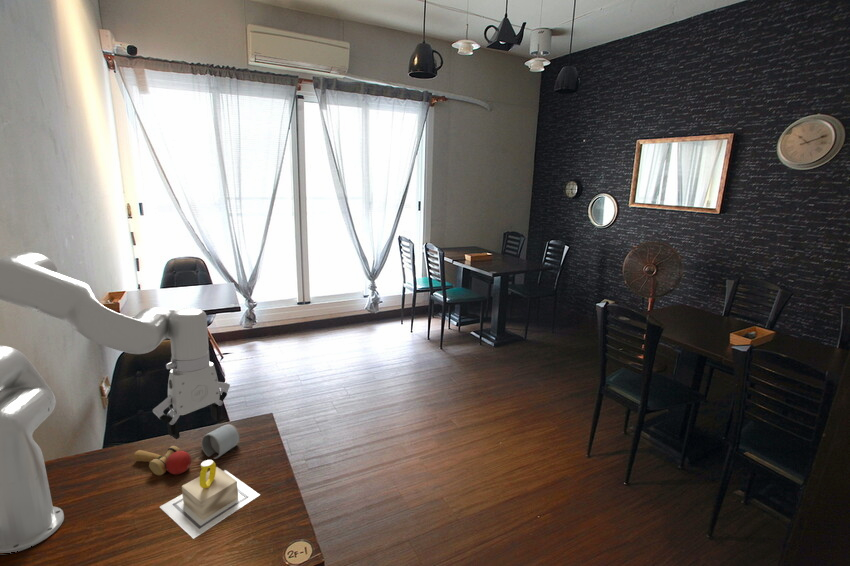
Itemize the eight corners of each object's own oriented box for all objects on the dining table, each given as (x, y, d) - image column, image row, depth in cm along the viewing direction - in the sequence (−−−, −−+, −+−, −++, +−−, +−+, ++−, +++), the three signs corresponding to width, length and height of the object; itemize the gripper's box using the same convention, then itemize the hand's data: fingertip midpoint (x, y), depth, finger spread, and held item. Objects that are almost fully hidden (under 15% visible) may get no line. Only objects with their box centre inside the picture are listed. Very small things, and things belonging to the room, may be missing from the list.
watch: (208, 477, 105) (207, 455, 104) (219, 476, 105) (218, 455, 104) (196, 492, 99) (195, 469, 98) (208, 492, 99) (207, 469, 99)
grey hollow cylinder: (242, 446, 126) (241, 423, 124) (221, 462, 118) (218, 438, 117) (216, 438, 130) (214, 416, 128) (194, 453, 122) (191, 430, 121)
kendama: (124, 474, 114) (174, 481, 109) (123, 451, 114) (173, 457, 109) (150, 462, 122) (198, 468, 116) (149, 440, 121) (197, 445, 116)
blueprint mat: (193, 540, 92) (193, 538, 92) (159, 508, 101) (159, 506, 101) (260, 496, 106) (260, 494, 106) (225, 471, 115) (225, 469, 115)
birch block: (202, 520, 98) (201, 502, 96) (183, 503, 102) (181, 486, 101) (238, 497, 105) (236, 481, 104) (218, 483, 110) (217, 466, 109)
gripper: (158, 379, 87) (164, 450, 90) (235, 355, 101) (238, 418, 104) (142, 368, 91) (149, 438, 94) (218, 347, 105) (222, 408, 108)
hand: (196, 427), depth 99 cm, fingers open, 9 cm apart
